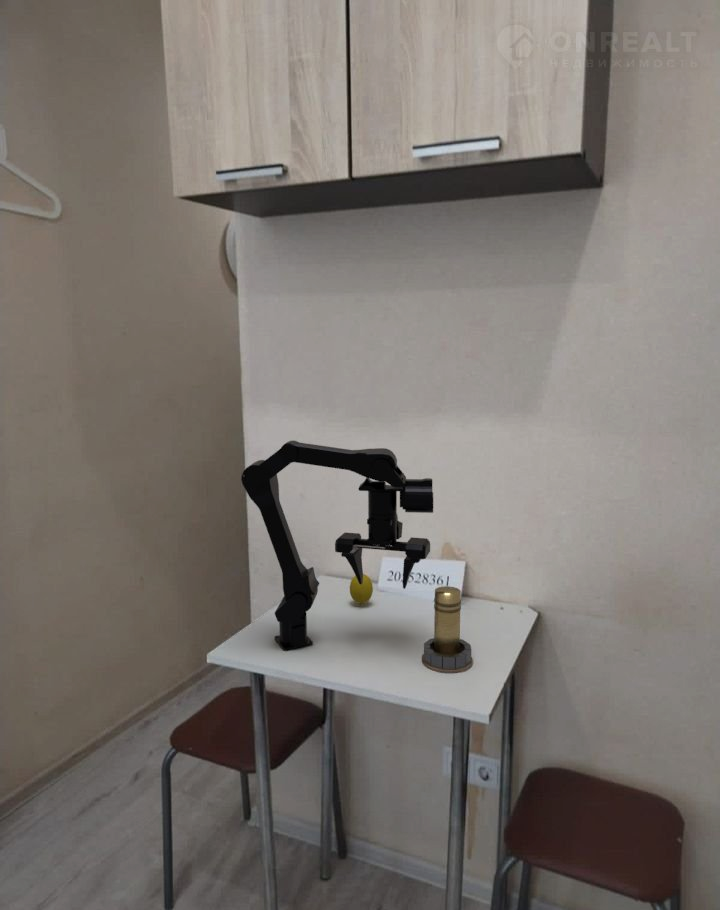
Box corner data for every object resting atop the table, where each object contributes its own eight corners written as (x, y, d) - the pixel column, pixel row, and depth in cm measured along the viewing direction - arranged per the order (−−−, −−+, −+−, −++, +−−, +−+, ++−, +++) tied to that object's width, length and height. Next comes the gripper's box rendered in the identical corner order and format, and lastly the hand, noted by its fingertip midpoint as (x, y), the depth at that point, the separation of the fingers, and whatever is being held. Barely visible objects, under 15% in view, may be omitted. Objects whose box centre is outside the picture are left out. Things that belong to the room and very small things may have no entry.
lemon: (359, 598, 165) (359, 567, 164) (377, 603, 162) (377, 572, 160) (345, 605, 161) (344, 573, 160) (363, 611, 157) (362, 578, 156)
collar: (415, 654, 134) (415, 642, 134) (453, 644, 138) (453, 633, 138) (440, 673, 126) (440, 661, 125) (480, 663, 130) (480, 651, 129)
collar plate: (412, 656, 134) (412, 653, 134) (453, 645, 139) (453, 643, 139) (439, 677, 125) (439, 675, 125) (483, 666, 130) (483, 663, 130)
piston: (431, 653, 134) (431, 586, 132) (456, 652, 135) (457, 585, 133) (436, 665, 129) (437, 596, 127) (462, 663, 130) (464, 595, 127)
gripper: (435, 505, 140) (434, 577, 142) (350, 500, 145) (351, 569, 147) (425, 518, 129) (424, 595, 131) (333, 512, 134) (334, 586, 137)
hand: (382, 585), depth 137 cm, fingers open, 9 cm apart
